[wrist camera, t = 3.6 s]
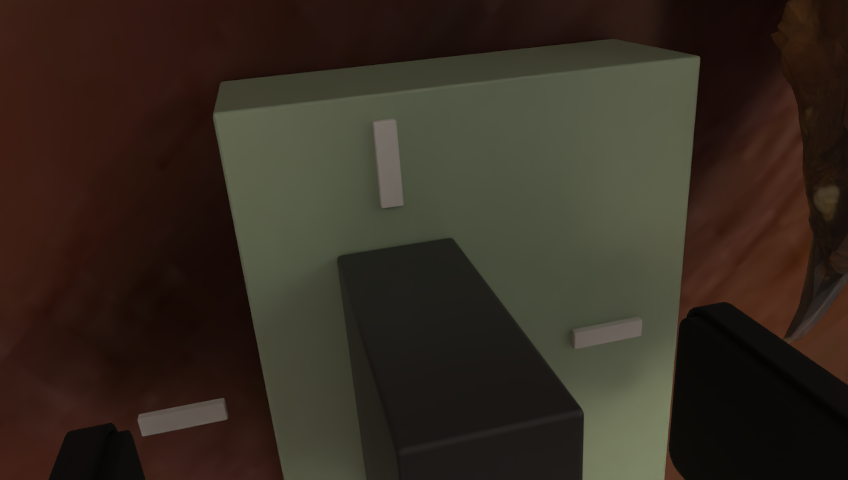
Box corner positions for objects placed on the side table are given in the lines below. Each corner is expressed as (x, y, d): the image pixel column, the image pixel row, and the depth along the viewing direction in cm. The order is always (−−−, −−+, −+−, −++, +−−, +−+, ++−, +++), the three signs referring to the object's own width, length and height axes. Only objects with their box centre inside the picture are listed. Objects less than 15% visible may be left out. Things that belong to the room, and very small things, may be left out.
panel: (98, 94, 12) (54, 133, 9) (614, 38, 14) (708, 56, 11) (208, 517, 16) (199, 635, 13) (600, 427, 18) (666, 514, 15)
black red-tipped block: (335, 254, 11) (401, 469, 6) (453, 235, 11) (598, 424, 7) (367, 490, 13) (436, 789, 8) (467, 467, 13) (586, 740, 9)
